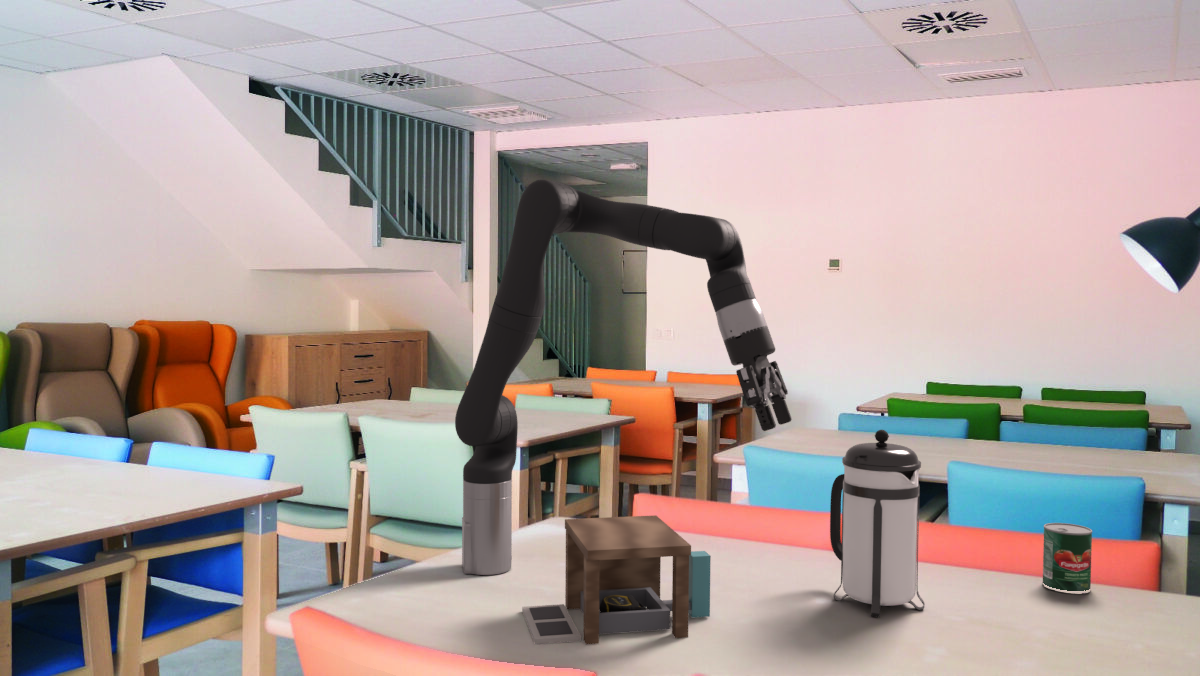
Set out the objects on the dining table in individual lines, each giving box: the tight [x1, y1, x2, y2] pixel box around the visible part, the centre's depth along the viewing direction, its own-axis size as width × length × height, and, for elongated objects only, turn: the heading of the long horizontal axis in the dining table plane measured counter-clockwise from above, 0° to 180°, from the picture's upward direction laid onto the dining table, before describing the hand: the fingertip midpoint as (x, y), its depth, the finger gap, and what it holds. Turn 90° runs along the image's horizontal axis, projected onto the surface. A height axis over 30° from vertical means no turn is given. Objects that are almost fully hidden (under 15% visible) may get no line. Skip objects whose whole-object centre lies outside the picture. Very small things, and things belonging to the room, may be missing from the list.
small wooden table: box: [564, 515, 692, 645], centre depth 151 cm, size 16×20×14 cm
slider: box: [579, 550, 712, 635], centre depth 152 cm, size 20×12×10 cm, turn 102°
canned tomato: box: [1042, 522, 1093, 591], centre depth 170 cm, size 8×8×11 cm
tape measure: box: [599, 595, 647, 613], centre depth 150 cm, size 7×7×4 cm
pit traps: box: [521, 603, 582, 645], centre depth 148 cm, size 7×15×1 cm, turn 12°
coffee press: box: [829, 429, 925, 618], centre depth 160 cm, size 17×16×30 cm
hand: (777, 426), depth 151 cm, fingers open, 8 cm apart
